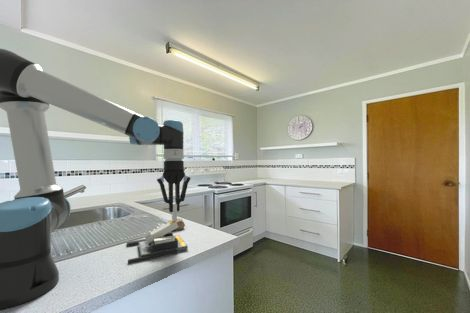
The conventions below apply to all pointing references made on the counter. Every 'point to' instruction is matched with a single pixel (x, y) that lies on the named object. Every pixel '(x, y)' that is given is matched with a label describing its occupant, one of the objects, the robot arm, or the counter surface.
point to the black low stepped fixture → (132, 243)
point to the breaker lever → (161, 231)
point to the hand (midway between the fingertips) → (174, 219)
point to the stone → (179, 224)
